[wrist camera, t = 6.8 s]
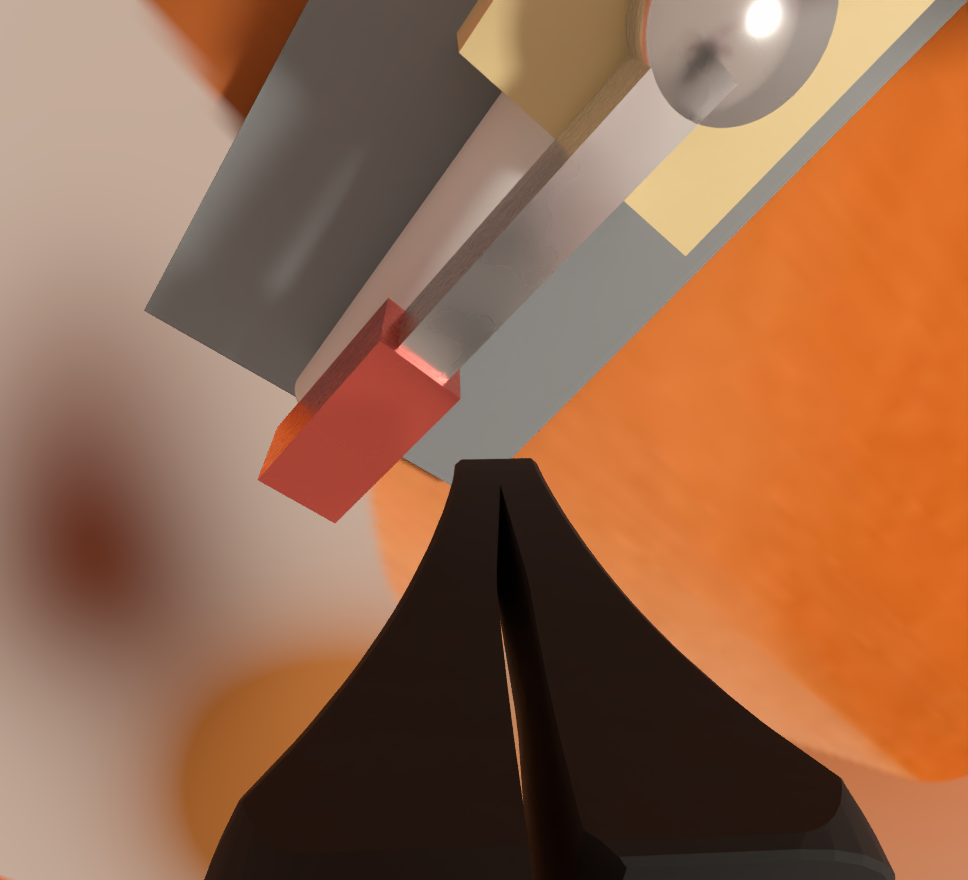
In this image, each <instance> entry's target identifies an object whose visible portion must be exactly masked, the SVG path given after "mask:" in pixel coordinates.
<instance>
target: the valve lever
mask: <svg viewBox="0 0 968 880" xmlns="http://www.w3.org/2000/svg"><path fill="white" fill-rule="evenodd" d="M838 3H839V0H629V4H628V9H627V14H626V23H625V41H626V50H627V55H628V57H627V58H626V60H625V61H624V62H623V63H622V64H621V65H620V66H619V67H618V69H617V70H616V71H615V72H614V73H613V74H612V75H611V77H610V78H609V79H608V80H607V81H606V82H605V83H604V85H603V86H602V87H601V88H600V89H599V90H598V91H597V93H596V94H595V95H594V96H593V97H592V98H591V99H590V100H589V102H588V103H587V104H586V105H585V106H584V107H583V108H582V110H581V111H580V112H579V113H578V114H577V115H576V116H575V118H574V119H573V120H572V121H571V122H570V123H569V124H568V126H567V127H566V128H565V129H564V130H563V131H562V132H561V133H560V135H559V136H558V137H557V138H556V139H555V140H554V141H553V143H552V144H551V145H550V146H549V147H548V148H547V149H546V151H545V152H544V153H543V154H542V155H541V156H540V157H539V158H538V160H537V161H536V162H535V163H534V164H533V165H532V166H531V168H530V169H529V170H528V171H527V172H526V173H525V174H524V176H523V177H522V178H521V179H520V180H519V181H518V182H517V184H516V185H515V186H514V187H513V188H512V189H511V190H510V191H509V193H508V194H507V195H506V196H505V197H504V198H503V199H502V201H501V202H500V203H499V204H498V205H497V206H496V207H495V209H494V210H493V211H492V212H491V213H490V214H489V215H488V217H487V218H486V219H485V220H484V221H483V222H482V223H481V224H480V226H479V227H478V228H477V229H476V230H475V231H474V232H473V234H472V235H471V236H470V237H469V238H468V239H467V240H466V242H465V243H464V244H463V245H462V246H461V247H460V248H459V249H458V251H457V252H456V253H455V254H454V255H453V256H452V257H451V259H450V260H449V261H448V262H447V263H446V264H445V265H444V267H443V268H442V269H441V270H440V271H439V272H438V273H437V275H436V276H435V277H434V278H433V279H432V280H431V281H430V282H429V284H428V285H427V286H426V287H425V288H424V289H423V290H422V292H421V293H420V294H419V295H418V296H417V297H416V298H415V300H414V301H413V302H412V303H411V304H410V305H409V306H408V308H407V309H406V310H403V309H402V308H401V307H400V306H398V305H397V304H396V303H394V302H393V301H392V300H390V299H389V298H388V299H387V300H386V301H385V302H384V303H383V304H382V306H381V307H380V308H379V309H378V310H377V312H376V313H375V314H374V315H373V316H372V317H371V319H370V320H369V321H368V322H367V323H366V324H365V326H364V327H363V328H362V329H361V330H360V331H359V333H358V334H357V335H356V336H355V337H354V338H353V340H352V341H351V342H350V343H349V344H348V345H347V347H346V348H345V349H344V350H343V351H342V352H341V354H340V355H339V356H338V357H337V358H336V360H335V361H334V362H333V363H332V364H331V365H330V367H329V368H328V369H327V370H326V371H325V372H324V374H323V375H322V376H321V377H320V378H319V379H318V381H317V382H316V383H315V384H314V385H313V386H312V388H311V389H310V390H309V391H308V392H307V393H306V395H305V396H304V397H303V398H302V399H301V400H300V402H299V403H298V404H297V405H296V406H295V408H294V409H293V410H292V411H291V412H290V413H289V415H288V416H287V417H286V418H285V419H284V421H283V422H282V423H281V424H280V425H279V426H278V427H277V430H276V433H275V435H274V438H273V441H272V443H271V446H270V448H269V451H268V454H267V457H266V459H265V462H264V465H263V467H262V470H261V472H260V475H259V478H258V480H259V481H261V482H263V483H264V484H266V485H268V486H269V487H271V488H273V489H275V490H277V491H278V492H280V493H282V494H284V495H285V496H287V497H289V498H291V499H293V500H295V501H296V502H298V503H300V504H302V505H303V506H305V507H307V508H309V509H310V510H312V511H314V512H316V513H318V514H319V515H321V516H323V517H325V518H327V519H328V520H330V521H332V522H334V523H336V522H337V521H338V520H339V519H340V518H341V517H342V516H343V515H344V514H345V513H346V512H347V511H348V510H349V509H350V508H351V507H352V506H353V505H354V504H355V503H356V502H357V501H358V500H359V499H360V498H361V497H362V496H363V495H364V494H365V493H366V492H367V491H368V490H369V489H370V488H371V487H372V486H373V485H374V484H375V483H376V482H377V481H378V480H379V479H380V478H381V477H382V476H383V475H384V474H386V473H387V472H388V471H389V470H390V469H391V468H392V467H393V466H394V465H395V464H396V463H397V462H398V461H399V460H400V459H401V458H402V457H403V456H404V455H405V454H406V453H407V452H408V451H409V450H410V449H411V448H412V447H413V446H414V445H415V444H416V443H417V442H418V441H419V440H420V439H421V438H422V437H423V436H424V435H425V434H426V433H427V432H428V431H429V430H430V429H431V428H432V427H433V426H434V425H435V424H436V423H437V422H438V421H439V420H440V419H441V418H442V417H443V416H444V415H445V414H446V413H447V412H448V411H449V410H450V409H451V408H452V407H453V406H454V405H455V404H456V403H457V402H458V401H459V400H460V399H461V397H460V367H461V366H462V365H463V364H464V363H465V362H466V361H467V360H468V359H469V358H470V357H471V356H472V355H473V354H474V353H475V352H476V351H477V350H478V349H479V348H480V347H481V346H482V345H483V344H484V343H485V342H486V341H487V340H488V339H489V338H490V337H491V336H492V335H493V334H494V333H495V332H496V331H497V330H498V329H499V328H500V327H501V326H502V325H503V324H504V323H505V322H506V321H507V320H508V318H509V317H510V316H511V315H512V314H513V313H514V312H515V311H516V310H517V309H518V308H519V307H520V306H521V305H522V304H523V303H524V302H525V301H526V300H527V299H528V298H529V297H530V296H531V295H532V294H533V293H534V292H535V291H536V290H537V289H538V288H539V287H540V286H541V285H542V284H543V283H544V282H545V281H546V280H547V279H548V278H549V277H550V276H551V275H552V274H553V273H554V272H555V271H556V269H557V268H558V267H559V266H560V265H561V264H562V263H563V262H564V261H565V260H566V259H567V258H568V257H569V256H570V255H571V254H572V253H573V252H574V251H575V250H576V249H577V248H578V247H579V246H580V245H581V244H582V243H583V242H584V241H585V240H586V239H587V238H588V237H589V236H590V235H591V234H592V233H593V232H594V231H595V230H596V229H597V228H598V227H599V226H600V225H601V224H602V223H603V222H604V220H605V219H606V218H607V217H608V216H609V215H610V214H611V213H612V212H613V211H614V210H615V209H616V208H617V207H618V206H619V205H620V204H621V203H622V202H623V201H624V200H625V199H626V198H627V197H628V196H629V195H630V194H631V193H632V192H633V191H634V190H635V189H636V188H637V187H638V186H639V185H640V184H641V183H642V182H643V181H644V180H645V179H646V178H647V177H648V176H649V175H650V174H651V173H652V171H653V170H654V169H655V168H656V167H657V166H658V165H659V164H660V163H661V162H662V161H663V160H664V159H665V158H666V157H667V156H668V155H669V154H670V153H671V152H672V151H673V150H674V149H675V148H676V147H677V146H678V145H679V144H680V143H681V142H682V141H683V140H684V139H685V138H686V137H687V136H688V135H689V134H690V133H691V132H692V131H693V130H694V129H695V128H696V127H697V126H698V125H699V124H700V125H703V126H706V127H713V128H731V127H738V126H742V125H745V124H749V123H752V122H754V121H756V120H759V119H761V118H763V117H765V116H767V115H768V114H770V113H772V112H773V111H775V110H776V109H778V108H779V107H781V106H782V105H783V104H784V103H786V102H787V101H788V100H789V99H790V98H791V97H792V96H794V94H795V93H796V92H797V91H798V90H799V89H800V88H801V87H802V86H803V85H804V83H805V82H806V81H807V80H808V78H809V77H810V76H811V74H812V73H813V71H814V70H815V68H816V66H817V65H818V63H819V62H820V60H821V58H822V56H823V54H824V52H825V50H826V48H827V45H828V43H829V40H830V38H831V35H832V32H833V28H834V25H835V21H836V16H837V10H838Z"/></svg>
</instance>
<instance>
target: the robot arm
mask: <svg viewBox="0 0 968 880" xmlns="http://www.w3.org/2000/svg"><path fill="white" fill-rule="evenodd" d="M500 621H501V623H500ZM501 627H502V633H503V639H504V645H505V652H506V657H507V664H508V670H509V676H510V682H511V688H512V694H513V700H514V706H515V713H516V720H517V728H518V737H519V751H520V765H521V779H522V793H523V800H522V793H521V786H520V779H519V771H518V764H517V757H516V750H515V742H514V735H513V727H512V719H511V711H510V703H509V695H508V687H507V678H506V669H505V660H504V651H503V642H502V633H501ZM204 880H895V873H894V871H893V869H892V867H891V865H890V864H889V862H888V860H887V857H886V855H885V853H884V852H883V849H882V847H881V845H880V843H879V841H878V839H877V837H876V835H875V834H874V832H873V830H872V828H871V826H870V825H869V823H868V821H867V819H866V818H865V816H864V814H863V813H862V811H861V809H860V808H859V806H858V805H857V803H856V801H855V800H854V798H853V797H852V795H851V794H850V792H849V790H848V789H847V787H846V786H845V784H844V782H843V780H842V779H841V778H840V777H839V776H837V775H836V774H835V773H833V772H832V771H830V770H829V769H827V768H826V767H825V766H823V765H822V764H820V763H819V762H818V761H816V760H815V759H813V758H812V757H810V756H809V755H808V754H806V753H805V752H803V751H802V750H801V749H799V748H798V747H796V746H795V745H793V744H792V743H791V742H789V741H788V740H786V739H785V738H784V737H782V736H781V735H779V734H778V733H777V732H775V731H774V730H772V729H771V728H770V727H768V726H767V725H766V724H764V723H763V722H762V721H760V720H759V719H758V718H757V717H755V716H754V715H753V714H752V713H750V712H749V711H748V710H747V709H745V708H744V707H743V706H742V705H740V704H739V703H738V702H737V701H735V700H734V699H733V698H732V697H730V696H729V695H728V694H727V693H726V692H725V691H724V690H722V689H721V688H720V687H719V686H718V685H717V684H716V683H715V682H713V681H712V680H711V679H710V678H709V677H708V676H707V675H706V674H704V673H703V672H702V671H701V670H700V669H699V668H698V667H697V666H695V665H694V664H693V663H692V662H691V661H690V660H689V659H687V658H686V657H685V656H684V655H683V654H682V653H681V652H680V651H679V650H678V649H677V648H675V647H674V646H673V645H672V644H671V643H670V642H669V641H668V640H667V639H666V638H665V637H664V636H663V635H662V634H661V633H660V632H659V631H658V630H657V629H656V628H655V627H654V626H653V625H652V623H651V622H650V621H649V620H648V619H647V618H646V617H645V616H644V615H643V614H642V613H641V612H640V611H639V609H638V608H637V607H636V606H635V605H634V604H633V603H632V602H631V601H630V600H629V598H628V597H627V596H626V595H625V594H624V593H623V591H622V590H621V589H620V588H619V587H618V586H617V584H616V583H615V582H614V581H613V579H612V578H611V577H610V576H609V574H608V573H607V572H606V571H605V569H604V568H603V567H602V566H601V564H600V563H599V562H598V561H597V559H596V558H595V557H594V555H593V554H592V553H591V551H590V550H589V548H588V547H587V546H586V544H585V543H584V541H583V540H582V539H581V537H580V536H579V534H578V533H577V531H576V530H575V528H574V527H573V526H572V524H571V523H570V521H569V520H568V518H567V517H566V515H565V513H564V512H563V510H562V509H561V507H560V505H559V504H558V502H557V500H556V499H555V497H554V496H553V494H552V492H551V490H550V489H549V487H548V485H547V483H546V481H545V479H544V478H543V476H542V474H541V472H540V470H539V467H538V465H537V463H536V462H535V461H533V460H532V459H531V458H518V459H461V460H460V461H459V462H458V463H456V464H455V467H454V476H453V481H452V485H451V489H450V492H449V496H448V499H447V502H446V505H445V508H444V510H443V513H442V516H441V518H440V520H439V523H438V525H437V528H436V530H435V533H434V535H433V537H432V540H431V542H430V544H429V547H428V549H427V551H426V553H425V555H424V557H423V559H422V561H421V563H420V565H419V567H418V569H417V571H416V572H415V574H414V576H413V578H412V580H411V582H410V584H409V586H408V588H407V589H406V591H405V593H404V595H403V596H402V598H401V600H400V602H399V603H398V605H397V607H396V609H395V610H394V612H393V613H392V615H391V616H390V618H389V619H388V621H387V623H386V624H385V626H384V627H383V629H382V630H381V632H380V633H379V635H378V636H377V638H376V639H375V641H374V642H373V644H372V645H371V647H370V648H369V649H368V651H367V652H366V654H365V655H364V657H363V658H362V660H361V661H360V662H359V664H358V665H357V666H356V668H355V669H354V670H353V672H352V673H351V674H350V676H349V677H348V678H347V680H346V681H345V682H344V683H343V685H342V686H341V687H340V688H339V689H338V691H337V692H336V693H335V694H334V696H333V697H332V698H331V699H330V700H329V702H328V703H327V704H326V705H325V706H324V708H323V709H322V710H321V711H320V713H319V714H318V715H317V716H316V717H315V719H314V720H313V721H312V722H311V723H310V725H309V726H308V727H307V728H306V729H305V731H304V732H303V733H302V734H301V735H300V736H299V737H298V738H297V740H296V741H295V742H294V743H293V744H292V745H291V746H290V747H289V748H288V749H287V750H286V751H285V752H284V754H283V755H282V756H281V757H280V758H279V759H278V760H277V761H276V762H275V763H274V764H273V765H272V766H271V767H270V768H269V769H268V770H267V771H266V772H265V773H264V775H263V776H262V777H261V778H260V779H259V780H258V781H257V782H256V783H255V784H254V785H253V786H252V787H251V788H250V789H249V790H248V791H247V792H246V794H244V795H243V797H242V798H241V799H240V800H239V802H238V804H237V806H236V808H235V810H234V812H233V814H232V816H231V818H230V820H229V822H228V824H227V826H226V828H225V830H224V833H223V835H222V837H221V839H220V841H219V844H218V846H217V849H216V851H215V853H214V855H213V858H212V860H211V863H210V866H209V869H208V871H207V874H206V876H205V879H204Z"/></svg>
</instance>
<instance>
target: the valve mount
mask: <svg viewBox="0 0 968 880" xmlns="http://www.w3.org/2000/svg"><path fill="white" fill-rule="evenodd" d="M967 1H968V0H839V3H838V10H837V16H836V21H835V25H834V28H833V32H832V35H831V38H830V40H829V43H828V45H827V48H826V50H825V52H824V54H823V56H822V58H821V60H820V62H819V63H818V65H817V66H816V68H815V70H814V71H813V73H812V74H811V76H810V77H809V78H808V80H807V81H806V82H805V83H804V85H803V86H802V87H801V88H800V89H799V90H798V91H797V92H796V93H795V94H794V96H792V97H791V98H790V99H789V100H788V101H787V102H786V103H784V104H783V105H782V106H781V107H779V108H778V109H776V110H775V111H773V112H772V113H770V114H768V115H767V116H765V117H763V118H761V119H759V120H756V121H754V122H752V123H749V124H745V125H742V126H738V127H731V128H713V127H706V126H703V125H700V124H699V125H698V126H697V127H696V128H695V129H694V130H693V131H692V132H691V133H690V134H689V135H688V136H687V137H686V138H685V139H684V140H683V141H682V142H681V143H680V144H679V145H678V146H677V147H676V148H675V149H674V150H673V151H672V152H671V153H670V154H669V155H668V156H667V157H666V158H665V159H664V160H663V161H662V162H661V163H660V164H659V165H658V166H657V167H656V168H655V169H654V170H653V171H652V173H651V174H650V175H649V176H648V177H647V178H646V179H645V180H644V181H643V182H642V183H641V184H640V185H639V186H638V187H637V188H636V189H635V190H634V191H633V192H632V193H631V194H630V195H629V196H628V197H627V198H626V199H625V200H624V201H623V202H622V203H621V204H620V205H619V206H618V207H617V208H616V209H615V210H614V211H613V212H612V213H611V214H610V215H609V216H608V217H607V218H606V219H605V220H604V222H603V223H602V224H601V225H600V226H599V227H598V228H597V229H596V230H595V231H594V232H593V233H592V234H591V235H590V236H589V237H588V238H587V239H586V240H585V241H584V242H583V243H582V244H581V245H580V246H579V247H578V248H577V249H576V250H575V251H574V252H573V253H572V254H571V255H570V256H569V257H568V258H567V259H566V260H565V261H564V262H563V263H562V264H561V265H560V266H559V267H558V268H557V269H556V271H555V272H554V273H553V274H552V275H551V276H550V277H549V278H548V279H547V280H546V281H545V282H544V283H543V284H542V285H541V286H540V287H539V288H538V289H537V290H536V291H535V292H534V293H533V294H532V295H531V296H530V297H529V298H528V299H527V300H526V301H525V302H524V303H523V304H522V305H521V306H520V307H519V308H518V309H517V310H516V311H515V312H514V313H513V314H512V315H511V316H510V317H509V318H508V320H507V321H506V322H505V323H504V324H503V325H502V326H501V327H500V328H499V329H498V330H497V331H496V332H495V333H494V334H493V335H492V336H491V337H490V338H489V339H488V340H487V341H486V342H485V343H484V344H483V345H482V346H481V347H480V348H479V349H478V350H477V351H476V352H475V353H474V354H473V355H472V356H471V357H470V358H469V359H468V360H467V361H466V362H465V363H464V364H463V365H462V366H461V367H460V397H461V399H460V400H459V401H458V402H457V403H456V404H455V405H454V406H453V407H452V408H451V409H450V410H449V411H448V412H447V413H446V414H445V415H444V416H443V417H442V418H441V419H440V420H439V421H438V422H437V423H436V424H435V425H434V426H433V427H432V428H431V429H430V430H429V431H428V432H427V433H426V434H425V435H424V436H423V437H422V438H421V439H420V440H419V441H418V442H417V443H416V444H415V445H414V446H413V447H412V448H411V449H410V450H409V451H408V452H407V453H406V454H405V455H404V456H403V457H402V458H404V459H406V460H408V461H409V462H411V463H413V464H415V465H417V466H418V467H420V468H422V469H424V470H425V471H427V472H429V473H431V474H432V475H434V476H436V477H438V478H439V479H441V480H443V481H445V482H446V483H448V484H450V485H452V481H453V476H454V467H455V464H456V463H458V462H459V461H460V460H461V459H511V458H512V457H513V456H514V455H515V454H516V453H517V452H518V451H519V450H520V449H521V448H522V447H523V446H524V445H525V444H526V443H527V442H528V441H529V440H530V439H531V438H532V437H533V436H534V435H535V434H536V433H537V432H538V431H539V430H540V429H541V428H542V427H543V426H544V425H545V424H546V423H547V422H548V421H549V420H550V419H551V418H552V417H553V416H554V415H555V414H556V413H557V412H558V411H559V410H560V409H561V408H562V407H563V406H564V405H565V404H566V403H567V402H568V401H569V400H570V399H571V398H572V397H573V396H574V395H575V394H576V393H577V392H578V391H579V390H580V389H581V388H582V387H583V386H584V385H585V384H586V383H587V382H588V381H589V380H590V379H591V378H592V377H593V376H594V375H595V374H596V373H597V372H598V371H599V370H600V369H601V368H602V367H603V366H604V365H605V364H606V363H607V362H608V361H609V360H610V359H611V358H612V357H613V356H614V355H615V354H616V353H617V352H618V351H619V350H620V349H621V348H622V347H623V346H624V345H625V344H626V343H627V342H628V341H629V340H630V339H631V338H632V337H633V336H634V335H635V334H636V333H637V332H638V331H639V330H640V329H641V328H642V327H643V326H644V325H645V324H646V323H647V322H648V321H649V320H650V319H651V318H652V317H653V316H654V315H655V314H656V313H657V312H658V311H659V310H660V309H661V308H662V307H663V306H664V305H665V304H666V303H667V302H668V301H669V300H670V299H671V298H672V297H673V296H674V295H675V294H676V293H677V292H678V291H679V290H680V289H681V288H682V287H683V286H684V285H685V284H686V283H687V282H688V281H689V280H690V279H691V278H692V277H693V276H694V275H695V274H696V273H697V272H698V271H699V270H700V269H701V268H702V267H703V266H704V265H705V264H706V263H707V262H708V261H709V260H710V259H711V258H712V257H713V256H714V255H715V254H716V253H717V252H718V251H719V250H720V249H721V248H722V247H723V246H724V245H725V244H726V243H727V242H728V241H729V240H730V239H731V238H732V237H733V236H734V235H735V234H736V233H737V232H738V231H739V230H740V229H741V228H742V227H743V226H744V225H745V224H746V223H747V222H748V221H749V220H750V219H751V218H752V217H753V216H754V215H755V214H756V213H757V212H758V211H759V210H760V209H761V208H762V207H763V206H764V205H765V204H766V203H767V202H768V201H769V200H770V199H771V198H772V197H773V196H774V195H775V194H776V193H777V192H778V191H779V190H780V189H781V188H782V187H783V186H784V185H785V184H786V183H787V182H788V181H789V180H790V179H791V178H792V177H793V176H794V175H795V174H796V173H797V172H798V171H799V170H800V169H801V168H802V167H803V166H804V165H805V164H806V163H807V162H808V161H809V160H810V159H811V158H812V157H813V156H814V155H815V153H816V152H817V151H818V150H819V149H820V148H821V147H822V146H823V145H824V144H825V143H826V142H827V141H828V140H829V139H830V138H831V137H832V136H833V135H834V134H835V133H836V132H837V131H838V130H839V129H840V128H841V127H842V126H843V125H844V124H845V123H846V122H847V121H848V120H849V119H850V118H851V117H852V116H853V115H854V114H855V113H856V112H857V111H858V110H859V109H860V108H861V107H862V106H863V105H864V104H865V103H866V102H867V101H868V100H869V99H870V98H871V97H872V96H873V95H874V94H875V93H876V92H877V91H878V90H879V89H880V88H881V87H882V86H883V85H884V84H885V83H886V82H887V81H888V80H889V79H890V78H891V77H892V76H893V75H894V74H895V73H896V72H897V71H898V70H899V69H900V68H901V67H902V66H903V65H904V64H905V63H906V62H907V61H908V60H909V59H910V58H911V57H912V56H913V55H914V54H915V53H916V52H917V51H918V50H919V49H920V48H921V47H922V46H923V45H924V44H925V43H926V42H927V41H928V40H929V39H930V38H931V37H932V36H933V35H934V34H935V33H936V32H937V31H938V30H939V29H940V28H941V27H942V26H943V25H944V24H945V23H946V22H947V21H948V20H949V19H950V18H951V17H952V16H953V15H954V14H955V13H956V12H957V11H958V10H959V9H960V8H961V7H962V6H963V5H964V4H965V3H966V2H967ZM628 4H629V0H308V2H307V4H306V6H305V8H304V9H303V11H302V13H301V15H300V17H299V19H298V21H297V23H296V25H295V26H294V28H293V30H292V32H291V34H290V36H289V38H288V40H287V42H286V44H285V45H284V47H283V49H282V51H281V53H280V55H279V57H278V59H277V61H276V62H275V64H274V66H273V68H272V70H271V72H270V74H269V76H268V78H267V79H266V81H265V83H264V85H263V87H262V89H261V91H260V93H259V95H258V96H257V98H256V100H255V102H254V104H253V106H252V108H251V110H250V112H249V113H248V115H247V117H246V119H245V121H244V123H243V125H242V127H241V129H240V130H239V132H238V134H237V136H236V138H235V140H234V142H233V144H232V146H231V147H230V149H229V151H228V153H227V155H226V157H225V159H224V161H223V163H222V164H221V166H220V168H219V170H218V172H217V174H216V176H215V178H214V180H213V182H212V183H211V186H210V187H209V189H208V191H207V193H206V195H205V197H204V199H203V200H202V202H201V204H200V206H199V208H198V210H197V212H196V214H195V215H194V218H193V219H192V221H191V223H190V225H189V227H188V229H187V231H186V233H185V235H184V236H183V238H182V240H181V242H180V244H179V246H178V248H177V250H176V251H175V254H174V255H173V257H172V259H171V261H170V263H169V265H168V267H167V268H166V270H165V272H164V274H163V276H162V278H161V280H160V282H159V284H158V285H157V287H156V289H155V291H154V293H153V295H152V297H151V299H150V301H149V302H148V304H147V306H146V308H145V310H144V311H146V312H148V313H150V314H151V315H153V316H155V317H156V318H158V319H160V320H162V321H163V322H165V323H167V324H169V325H170V326H172V327H174V328H176V329H177V330H179V331H181V332H183V333H185V334H186V335H188V336H190V337H192V338H193V339H195V340H197V341H199V342H200V343H202V344H204V345H206V346H207V347H209V348H211V349H213V350H215V351H216V352H218V353H220V354H221V355H223V356H225V357H227V358H228V359H230V360H232V361H234V362H236V363H237V364H239V365H241V366H243V367H244V368H246V369H248V370H250V371H252V372H253V373H255V374H257V375H258V376H260V377H262V378H264V379H266V380H267V381H269V382H271V383H273V384H274V385H276V386H278V387H279V388H281V389H283V390H285V391H286V392H288V393H290V394H292V395H294V396H295V397H296V398H297V401H298V403H299V402H300V400H301V399H302V398H303V397H304V396H305V395H306V393H307V392H308V391H309V390H310V389H311V388H312V386H313V385H314V384H315V383H316V382H317V381H318V379H319V378H320V377H321V376H322V375H323V374H324V372H325V371H326V370H327V369H328V368H329V367H330V365H331V364H332V363H333V362H334V361H335V360H336V358H337V357H338V356H339V355H340V354H341V352H342V351H343V350H344V349H345V348H346V347H347V345H348V344H349V343H350V342H351V341H352V340H353V338H354V337H355V336H356V335H357V334H358V333H359V331H360V330H361V329H362V328H363V327H364V326H365V324H366V323H367V322H368V321H369V320H370V319H371V317H372V316H373V315H374V314H375V313H376V312H377V310H378V309H379V308H380V307H381V306H382V304H383V303H384V302H385V301H386V300H387V299H388V298H389V299H390V300H392V301H393V302H394V303H396V304H397V305H398V306H400V307H401V308H402V309H403V310H406V309H407V308H408V306H409V305H410V304H411V303H412V302H413V301H414V300H415V298H416V297H417V296H418V295H419V294H420V293H421V292H422V290H423V289H424V288H425V287H426V286H427V285H428V284H429V282H430V281H431V280H432V279H433V278H434V277H435V276H436V275H437V273H438V272H439V271H440V270H441V269H442V268H443V267H444V265H445V264H446V263H447V262H448V261H449V260H450V259H451V257H452V256H453V255H454V254H455V253H456V252H457V251H458V249H459V248H460V247H461V246H462V245H463V244H464V243H465V242H466V240H467V239H468V238H469V237H470V236H471V235H472V234H473V232H474V231H475V230H476V229H477V228H478V227H479V226H480V224H481V223H482V222H483V221H484V220H485V219H486V218H487V217H488V215H489V214H490V213H491V212H492V211H493V210H494V209H495V207H496V206H497V205H498V204H499V203H500V202H501V201H502V199H503V198H504V197H505V196H506V195H507V194H508V193H509V191H510V190H511V189H512V188H513V187H514V186H515V185H516V184H517V182H518V181H519V180H520V179H521V178H522V177H523V176H524V174H525V173H526V172H527V171H528V170H529V169H530V168H531V166H532V165H533V164H534V163H535V162H536V161H537V160H538V158H539V157H540V156H541V155H542V154H543V153H544V152H545V151H546V149H547V148H548V147H549V146H550V145H551V144H552V143H553V141H554V140H555V139H556V138H557V137H558V136H559V135H560V133H561V132H562V131H563V130H564V129H565V128H566V127H567V126H568V124H569V123H570V122H571V121H572V120H573V119H574V118H575V116H576V115H577V114H578V113H579V112H580V111H581V110H582V108H583V107H584V106H585V105H586V104H587V103H588V102H589V100H590V99H591V98H592V97H593V96H594V95H595V94H596V93H597V91H598V90H599V89H600V88H601V87H602V86H603V85H604V83H605V82H606V81H607V80H608V79H609V78H610V77H611V75H612V74H613V73H614V72H615V71H616V70H617V69H618V67H619V66H620V65H621V64H622V63H623V62H624V61H625V60H626V58H627V57H628V55H627V50H626V41H625V23H626V14H627V9H628Z"/></svg>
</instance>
